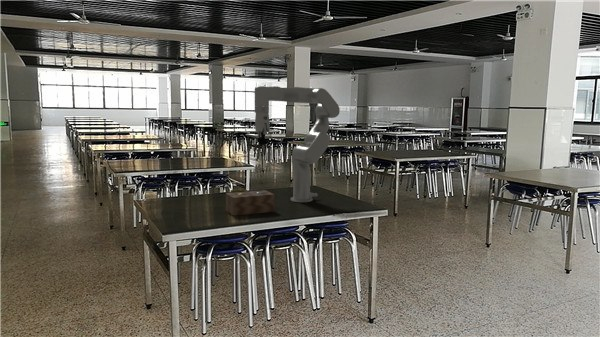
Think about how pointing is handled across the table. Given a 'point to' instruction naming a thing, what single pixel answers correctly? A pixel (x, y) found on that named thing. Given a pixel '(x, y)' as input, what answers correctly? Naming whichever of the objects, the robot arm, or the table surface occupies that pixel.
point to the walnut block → (249, 203)
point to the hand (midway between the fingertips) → (261, 144)
